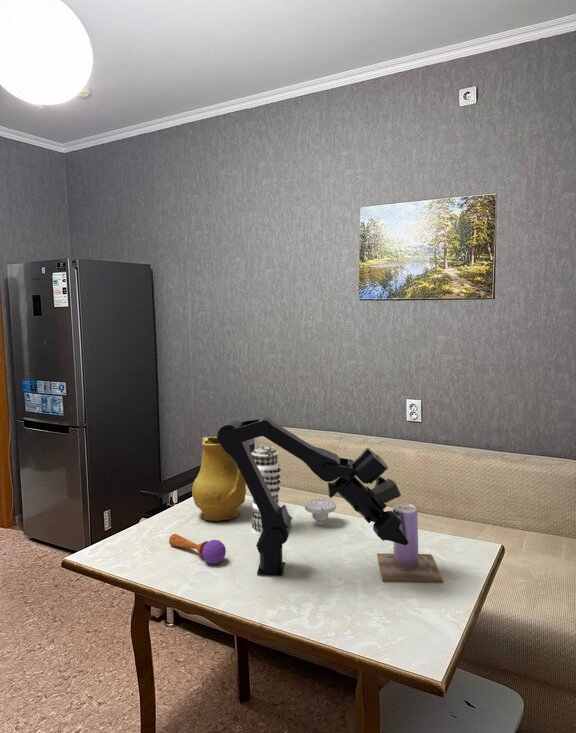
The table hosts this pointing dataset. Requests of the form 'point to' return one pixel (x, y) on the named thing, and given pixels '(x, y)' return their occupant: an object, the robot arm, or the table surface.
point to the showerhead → (320, 509)
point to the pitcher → (218, 483)
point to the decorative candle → (266, 479)
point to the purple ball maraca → (202, 548)
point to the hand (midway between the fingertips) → (400, 536)
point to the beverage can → (407, 537)
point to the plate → (422, 573)
